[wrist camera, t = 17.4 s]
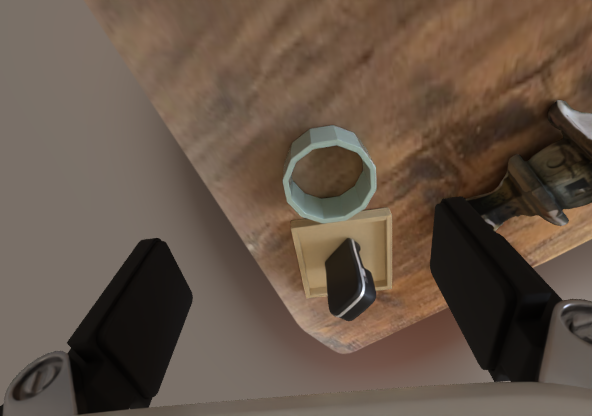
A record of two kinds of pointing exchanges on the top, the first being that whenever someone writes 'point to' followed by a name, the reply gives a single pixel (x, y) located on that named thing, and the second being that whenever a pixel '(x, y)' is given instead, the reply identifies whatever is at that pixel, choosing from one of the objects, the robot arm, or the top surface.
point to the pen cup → (333, 206)
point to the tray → (329, 236)
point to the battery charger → (348, 282)
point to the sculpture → (545, 175)
